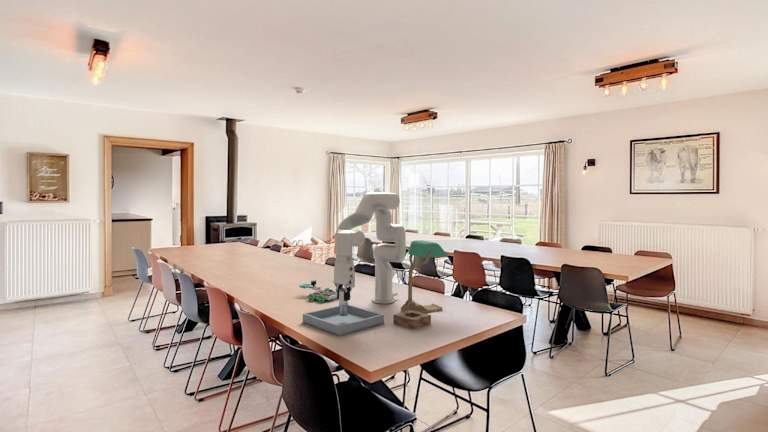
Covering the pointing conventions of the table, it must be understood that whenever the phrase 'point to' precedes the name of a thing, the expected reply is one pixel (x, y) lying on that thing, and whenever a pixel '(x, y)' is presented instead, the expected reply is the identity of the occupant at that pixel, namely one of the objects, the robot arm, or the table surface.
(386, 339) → the table surface
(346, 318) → the tray
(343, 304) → the pin
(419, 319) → the brown square hollow block
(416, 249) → the banker's lamp
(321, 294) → the robot kit
